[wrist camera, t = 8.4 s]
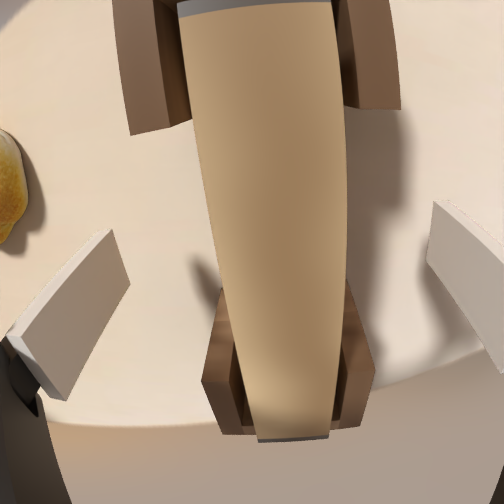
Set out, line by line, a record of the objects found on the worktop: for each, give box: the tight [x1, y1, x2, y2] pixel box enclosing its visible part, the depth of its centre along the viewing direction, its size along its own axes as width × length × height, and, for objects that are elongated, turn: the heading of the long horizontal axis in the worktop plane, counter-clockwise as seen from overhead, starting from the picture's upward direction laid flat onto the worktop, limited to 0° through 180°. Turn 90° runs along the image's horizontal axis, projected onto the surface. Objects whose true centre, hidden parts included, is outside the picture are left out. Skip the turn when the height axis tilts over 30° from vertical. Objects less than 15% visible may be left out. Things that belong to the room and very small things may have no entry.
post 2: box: [201, 279, 375, 435], centre depth 16 cm, size 7×5×7 cm
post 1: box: [112, 0, 401, 136], centre depth 9 cm, size 7×5×7 cm
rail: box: [177, 0, 347, 443], centre depth 11 cm, size 3×16×6 cm, turn 7°
